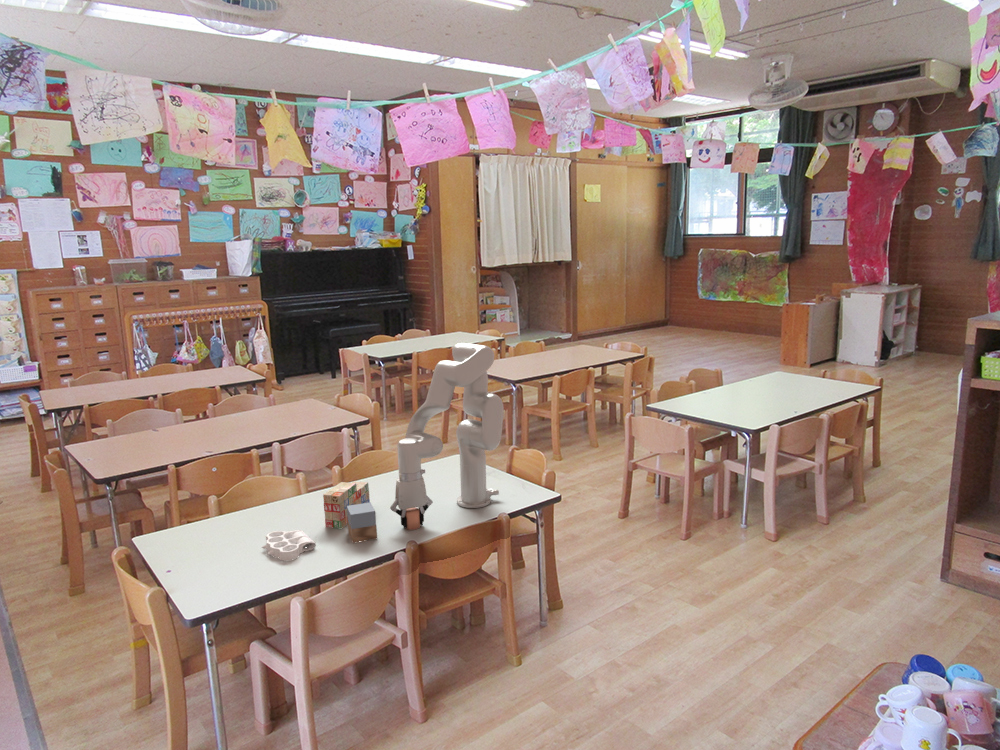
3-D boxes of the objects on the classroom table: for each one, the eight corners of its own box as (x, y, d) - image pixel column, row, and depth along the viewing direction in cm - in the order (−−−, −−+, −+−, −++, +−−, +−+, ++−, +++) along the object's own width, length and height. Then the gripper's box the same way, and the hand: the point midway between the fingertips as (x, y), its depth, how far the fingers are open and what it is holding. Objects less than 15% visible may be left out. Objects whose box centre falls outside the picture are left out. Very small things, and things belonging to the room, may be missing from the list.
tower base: (371, 529, 238) (371, 516, 237) (377, 539, 230) (376, 525, 229) (348, 534, 235) (347, 520, 234) (352, 543, 227) (352, 529, 226)
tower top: (371, 516, 237) (370, 502, 236) (376, 525, 229) (375, 510, 228) (347, 520, 234) (346, 506, 233) (351, 529, 226) (350, 514, 225)
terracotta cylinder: (417, 522, 242) (417, 506, 241) (421, 528, 238) (421, 511, 236) (403, 525, 240) (402, 508, 239) (407, 530, 236) (406, 514, 234)
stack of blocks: (355, 504, 260) (353, 473, 257) (370, 506, 258) (368, 474, 256) (325, 527, 240) (322, 493, 237) (341, 529, 238) (339, 495, 236)
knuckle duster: (319, 553, 221) (274, 566, 213) (299, 534, 236) (256, 545, 227) (319, 543, 221) (273, 556, 212) (299, 524, 235) (255, 536, 227)
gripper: (431, 467, 242) (433, 517, 245) (382, 475, 235) (385, 525, 239) (437, 474, 235) (439, 525, 239) (388, 482, 228) (391, 534, 232)
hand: (412, 524), depth 239 cm, fingers closed on terracotta cylinder, 4 cm apart
